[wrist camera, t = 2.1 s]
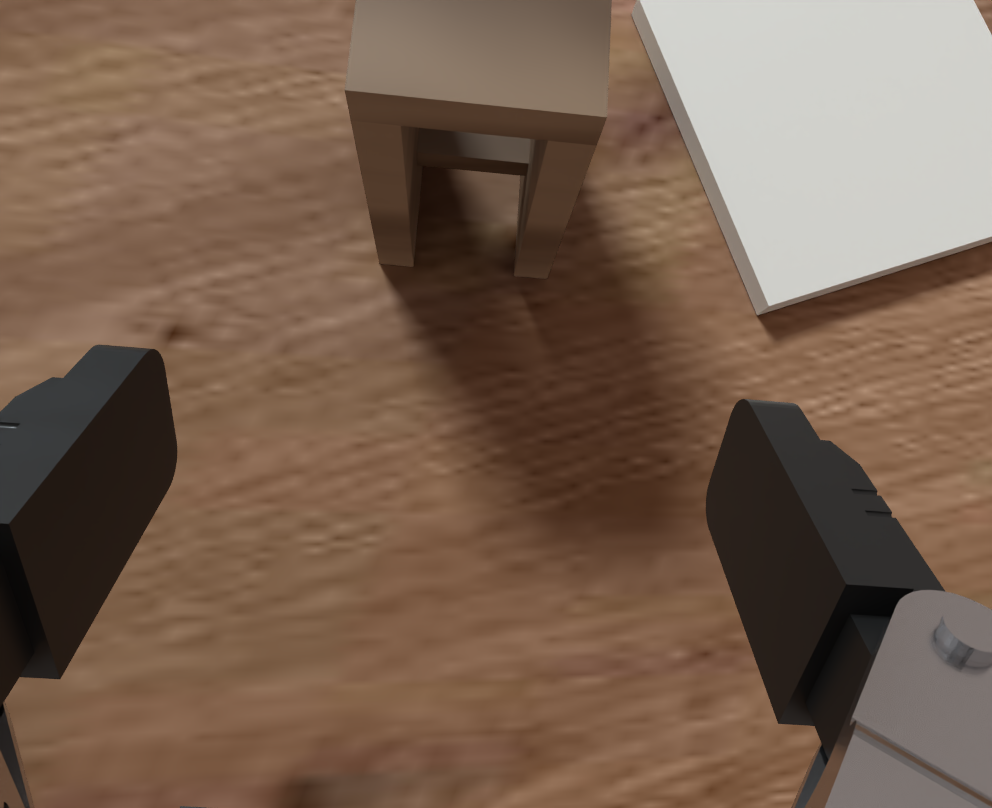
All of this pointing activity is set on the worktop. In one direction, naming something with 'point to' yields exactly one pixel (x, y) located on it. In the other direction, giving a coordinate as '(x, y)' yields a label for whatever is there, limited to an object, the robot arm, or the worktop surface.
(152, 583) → the worktop surface
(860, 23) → the off-white board
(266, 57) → the worktop surface
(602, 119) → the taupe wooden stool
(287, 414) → the worktop surface
